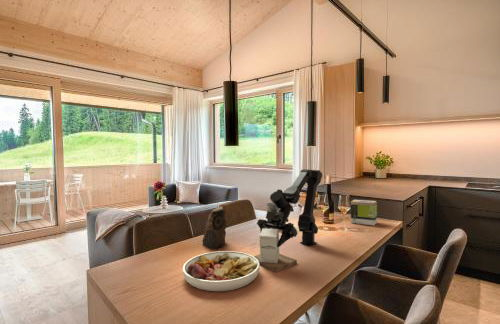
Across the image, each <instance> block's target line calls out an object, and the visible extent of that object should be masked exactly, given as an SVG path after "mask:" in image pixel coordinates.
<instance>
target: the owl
mask: <svg viewBox="0 0 500 324" xmlns="http://www.w3.org/2000/svg"><path fill="white" fill-rule="evenodd" d="M225 214H226V211H225V209H224V206H223V205H221V206H218V207H216V208H214V209H213V210H212V211H211V213H210V214H209V215H208V219H207V221H206V224H205V228H204V232H203V238H202V240H201V241H202V245H203V246H204V247H206V248H209V249H211V250H215V251H216V250H220V249H222V248H223V247H224V246H225V245H226V235H227V232H226V215H225Z"/></svg>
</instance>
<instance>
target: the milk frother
mask: <svg viewBox="0 0 500 324" xmlns="http://www.w3.org/2000/svg"><path fill="white" fill-rule="evenodd" d="M277 210H278V208H276V206H275V205H274V204H273V202H267V203H266V212H267V211H269V212H277ZM269 220H270V219H266V221H267V222H268V223H269V224H271V222H270V221H269ZM287 224H290V225H293V226H295V225H294V223H292V222H287Z"/></svg>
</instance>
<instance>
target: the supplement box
mask: <svg viewBox="0 0 500 324" xmlns="http://www.w3.org/2000/svg"><path fill="white" fill-rule="evenodd" d="M279 231H280V230H279V229H272V228H270V229H264V228H262V231H261V234H259V250H260V251H259V252H260V255H261V262H268V263H277V262H278V258H279V254H280V247H277V244H278V242H279V239H280V233H279Z"/></svg>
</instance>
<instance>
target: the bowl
mask: <svg viewBox="0 0 500 324" xmlns="http://www.w3.org/2000/svg"><path fill="white" fill-rule="evenodd" d="M260 267H261V265H259V261H258V260H257V259H256V258H255V257H254V255H251V254H249V253H246V252H242V251H234V250H233V251H231V250H222V251H221V250H218V251H211V252H206V253H203V254H198V255H196V256H193V257H191V258H190V259H188V260H187V261H186V262H185V263H184V264H183V266H182V275H183V278H184V279H185V281H186V282H187V283H188V284H189V285H191V286H192V287H195V288H196V289H199V290H203V291H207V292H229V291H233V290H236V289H240V288H242V287H245V286H247V285H249V284H250V283H252V282H253V281H254V280H255V279H256V278H257V276H258V275H259V272H260Z"/></svg>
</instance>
